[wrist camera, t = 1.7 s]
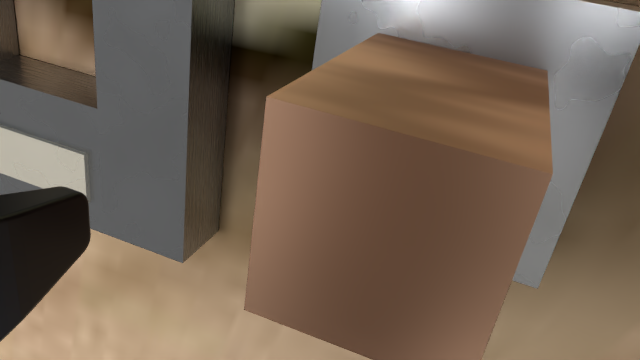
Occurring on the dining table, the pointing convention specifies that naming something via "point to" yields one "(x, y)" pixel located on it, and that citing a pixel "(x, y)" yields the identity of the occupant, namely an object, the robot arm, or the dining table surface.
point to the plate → (127, 120)
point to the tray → (525, 49)
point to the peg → (398, 198)
